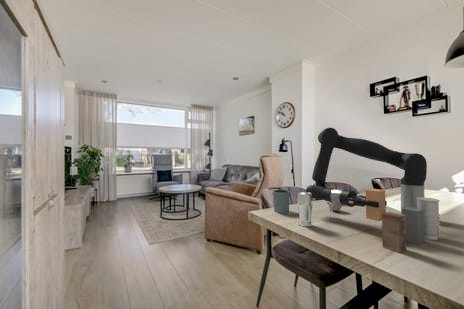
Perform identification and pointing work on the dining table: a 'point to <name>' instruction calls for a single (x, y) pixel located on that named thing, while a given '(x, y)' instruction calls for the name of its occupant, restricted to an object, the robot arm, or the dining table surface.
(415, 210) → the grey block
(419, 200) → the grey ribbed canister
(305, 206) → the beer glass
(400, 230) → the walnut block
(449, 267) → the dining table surface
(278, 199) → the grey-green cup
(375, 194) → the orange block
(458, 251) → the dining table surface
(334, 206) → the game die
